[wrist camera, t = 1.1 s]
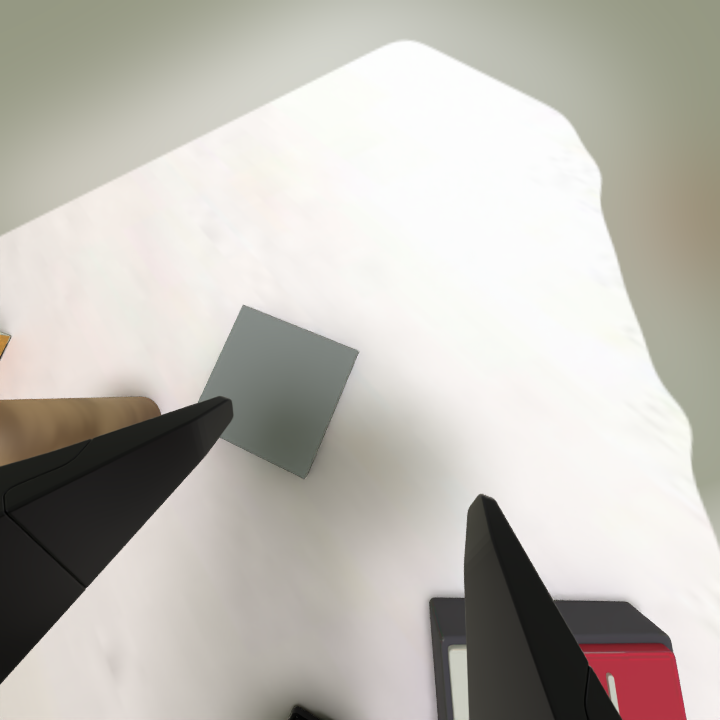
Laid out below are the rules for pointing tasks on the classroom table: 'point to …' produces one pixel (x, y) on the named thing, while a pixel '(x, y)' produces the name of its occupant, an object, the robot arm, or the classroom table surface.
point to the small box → (3, 341)
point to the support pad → (279, 388)
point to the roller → (64, 422)
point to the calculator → (600, 646)
